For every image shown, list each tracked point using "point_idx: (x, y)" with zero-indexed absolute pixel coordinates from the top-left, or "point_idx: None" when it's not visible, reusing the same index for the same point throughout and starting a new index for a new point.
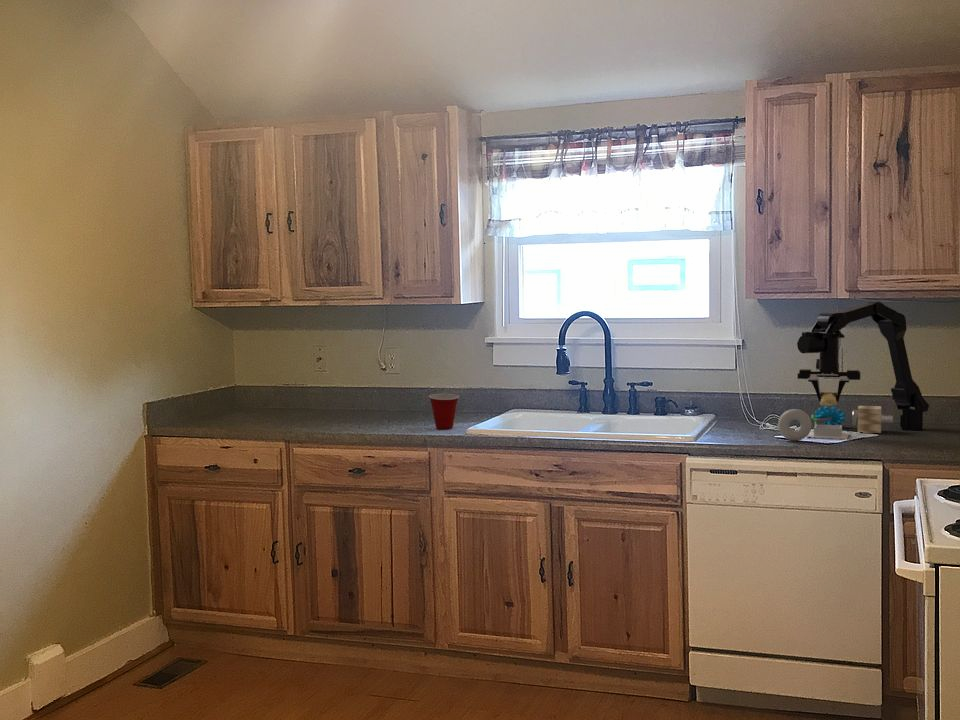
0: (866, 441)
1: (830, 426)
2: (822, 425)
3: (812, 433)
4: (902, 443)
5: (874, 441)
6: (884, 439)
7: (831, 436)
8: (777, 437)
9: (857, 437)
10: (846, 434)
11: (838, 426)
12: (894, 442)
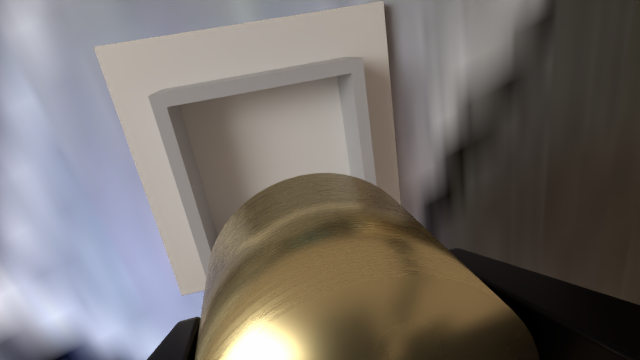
0: (489, 244)
1: (275, 86)
2: (210, 97)
3: (167, 167)
4: (628, 225)
5: (522, 226)
6: (570, 135)
7: None
8: (8, 345)
9: (440, 124)
10: (382, 113)
11: (336, 75)
12: (602, 212)
